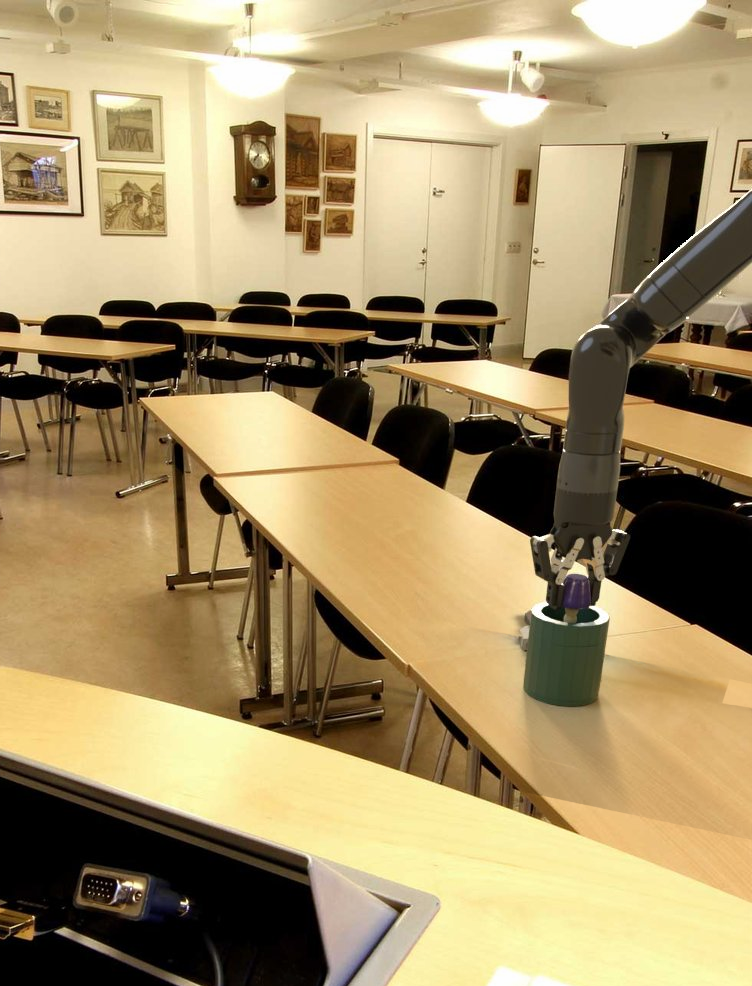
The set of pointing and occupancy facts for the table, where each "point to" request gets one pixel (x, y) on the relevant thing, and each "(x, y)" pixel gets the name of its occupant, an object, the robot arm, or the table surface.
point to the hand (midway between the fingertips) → (571, 605)
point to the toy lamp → (575, 596)
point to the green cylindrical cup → (565, 655)
